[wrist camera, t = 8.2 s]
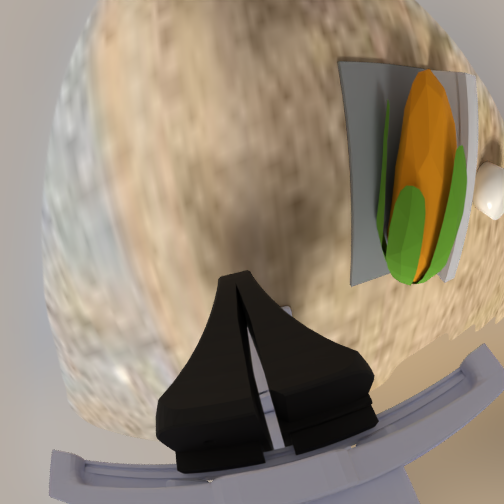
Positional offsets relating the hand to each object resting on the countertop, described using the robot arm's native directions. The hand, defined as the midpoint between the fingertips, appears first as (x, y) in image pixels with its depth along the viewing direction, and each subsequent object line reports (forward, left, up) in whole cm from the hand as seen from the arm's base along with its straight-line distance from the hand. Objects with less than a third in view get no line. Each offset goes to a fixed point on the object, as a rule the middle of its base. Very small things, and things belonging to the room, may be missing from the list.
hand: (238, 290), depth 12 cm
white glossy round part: (-4, -34, -11) cm, 36 cm away
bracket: (-1, -17, -10) cm, 20 cm away
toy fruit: (0, -16, -10) cm, 19 cm away
